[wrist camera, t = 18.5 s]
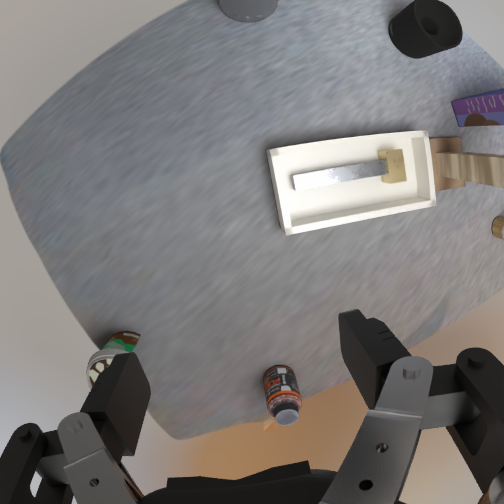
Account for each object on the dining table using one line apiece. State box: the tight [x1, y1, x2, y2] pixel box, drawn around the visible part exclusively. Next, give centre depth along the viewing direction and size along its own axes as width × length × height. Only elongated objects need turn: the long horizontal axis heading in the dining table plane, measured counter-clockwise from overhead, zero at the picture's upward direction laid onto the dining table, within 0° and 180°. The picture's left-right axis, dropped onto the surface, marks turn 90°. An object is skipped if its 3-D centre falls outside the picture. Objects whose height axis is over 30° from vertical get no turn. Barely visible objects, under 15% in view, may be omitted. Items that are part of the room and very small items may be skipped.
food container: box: [86, 331, 141, 389], centre depth 49 cm, size 12×6×10 cm, turn 151°
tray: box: [266, 130, 436, 235], centre depth 46 cm, size 25×12×5 cm, turn 101°
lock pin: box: [291, 149, 407, 191], centre depth 45 cm, size 18×5×3 cm, turn 102°
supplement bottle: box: [264, 366, 302, 425], centre depth 52 cm, size 6×6×11 cm
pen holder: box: [389, 0, 462, 58], centre depth 37 cm, size 9×9×10 cm
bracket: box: [429, 137, 504, 191], centre depth 33 cm, size 10×9×32 cm
